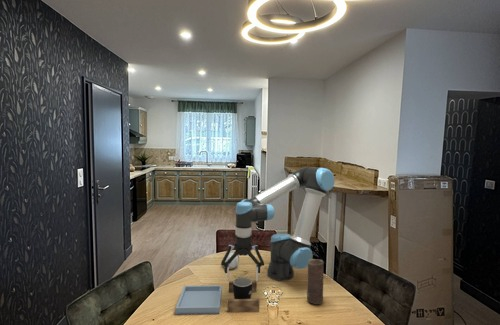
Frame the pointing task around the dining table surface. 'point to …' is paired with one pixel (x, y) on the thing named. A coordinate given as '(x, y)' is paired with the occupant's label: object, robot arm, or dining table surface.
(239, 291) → the mug
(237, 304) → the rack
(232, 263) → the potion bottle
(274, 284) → the dining table surface
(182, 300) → the tray
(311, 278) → the candle
